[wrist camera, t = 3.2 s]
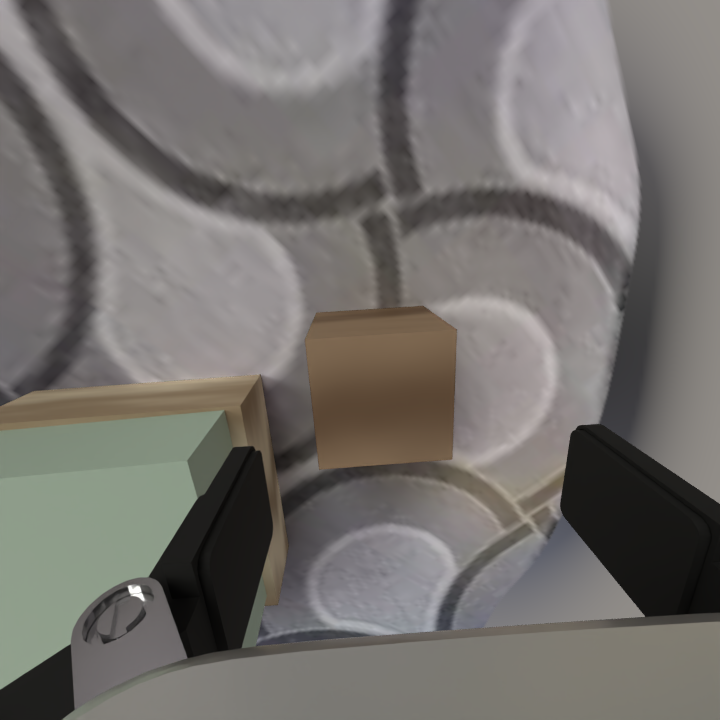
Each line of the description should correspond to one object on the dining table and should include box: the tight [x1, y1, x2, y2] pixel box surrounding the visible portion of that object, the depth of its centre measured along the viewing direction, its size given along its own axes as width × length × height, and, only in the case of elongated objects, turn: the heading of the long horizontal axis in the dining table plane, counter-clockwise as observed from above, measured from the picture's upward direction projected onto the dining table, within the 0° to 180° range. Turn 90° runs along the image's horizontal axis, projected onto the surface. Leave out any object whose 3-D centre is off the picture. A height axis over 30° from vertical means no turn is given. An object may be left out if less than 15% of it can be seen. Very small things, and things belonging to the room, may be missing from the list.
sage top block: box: [0, 410, 267, 689], centre depth 16 cm, size 12×12×4 cm
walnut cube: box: [305, 306, 457, 470], centre depth 17 cm, size 6×6×6 cm
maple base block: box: [0, 375, 289, 606], centre depth 20 cm, size 13×13×4 cm
